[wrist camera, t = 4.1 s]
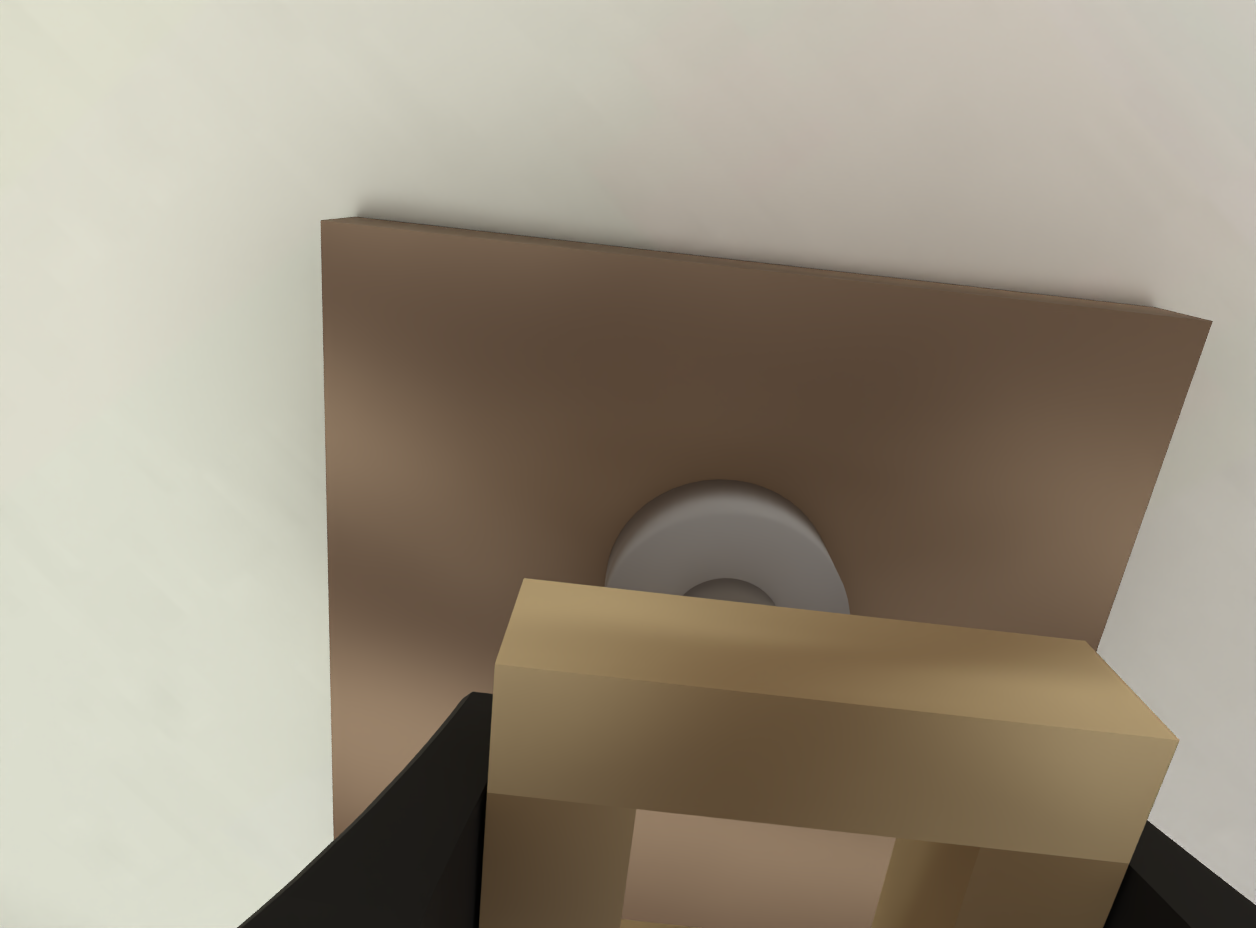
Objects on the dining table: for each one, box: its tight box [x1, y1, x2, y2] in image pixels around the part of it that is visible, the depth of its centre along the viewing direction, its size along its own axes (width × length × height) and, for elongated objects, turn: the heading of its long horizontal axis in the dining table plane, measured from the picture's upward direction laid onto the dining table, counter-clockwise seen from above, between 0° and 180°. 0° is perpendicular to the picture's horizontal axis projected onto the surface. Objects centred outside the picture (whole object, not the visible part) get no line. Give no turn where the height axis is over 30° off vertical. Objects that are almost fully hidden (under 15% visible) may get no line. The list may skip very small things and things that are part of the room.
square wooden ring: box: [479, 578, 1179, 928], centre depth 8 cm, size 6×6×2 cm
